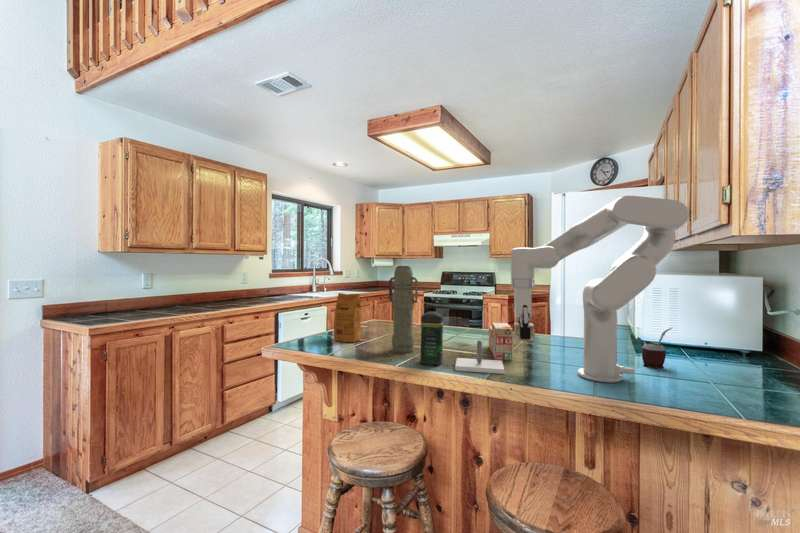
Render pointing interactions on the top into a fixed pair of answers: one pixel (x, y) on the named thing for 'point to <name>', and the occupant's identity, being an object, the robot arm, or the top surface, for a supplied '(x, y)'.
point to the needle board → (479, 363)
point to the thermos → (403, 309)
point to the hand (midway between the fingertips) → (524, 336)
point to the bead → (517, 332)
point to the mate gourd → (654, 354)
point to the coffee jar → (431, 338)
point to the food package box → (501, 341)
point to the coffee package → (347, 318)
